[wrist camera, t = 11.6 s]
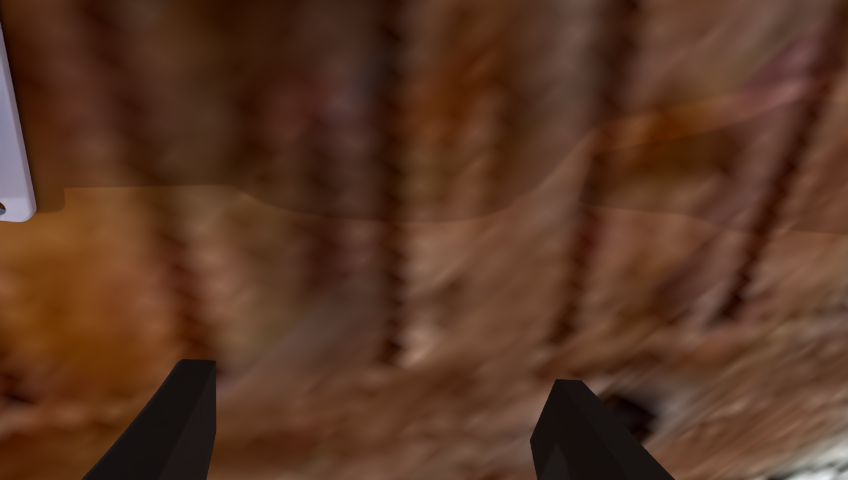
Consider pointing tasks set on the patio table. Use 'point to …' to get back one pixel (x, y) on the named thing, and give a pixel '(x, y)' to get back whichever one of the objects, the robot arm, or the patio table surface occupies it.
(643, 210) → the patio table surface
